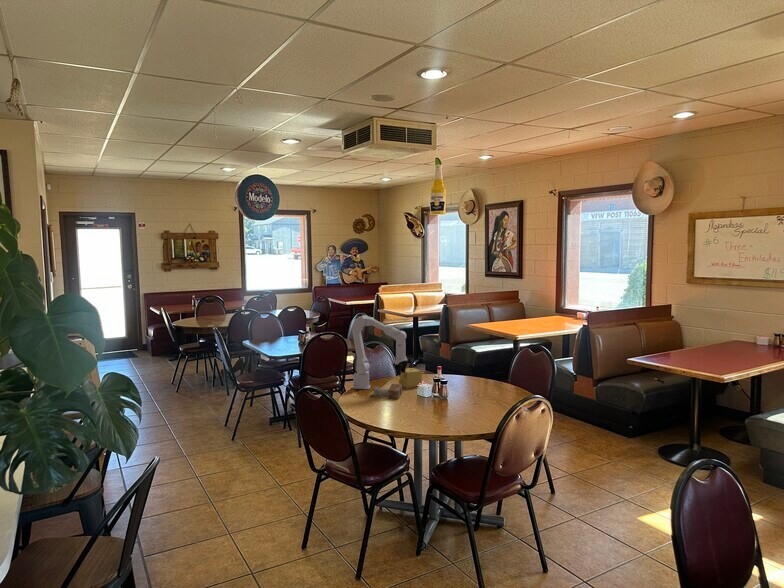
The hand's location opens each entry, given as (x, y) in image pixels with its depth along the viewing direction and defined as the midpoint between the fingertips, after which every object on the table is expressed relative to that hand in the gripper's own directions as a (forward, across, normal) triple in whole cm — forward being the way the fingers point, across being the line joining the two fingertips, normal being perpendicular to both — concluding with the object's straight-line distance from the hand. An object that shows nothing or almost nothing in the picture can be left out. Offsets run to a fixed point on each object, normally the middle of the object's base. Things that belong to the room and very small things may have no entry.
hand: (400, 373), depth 324 cm
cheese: (+10, +12, -2) cm, 16 cm away
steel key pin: (+10, -14, +4) cm, 17 cm away
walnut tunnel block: (+10, -12, -1) cm, 16 cm away
